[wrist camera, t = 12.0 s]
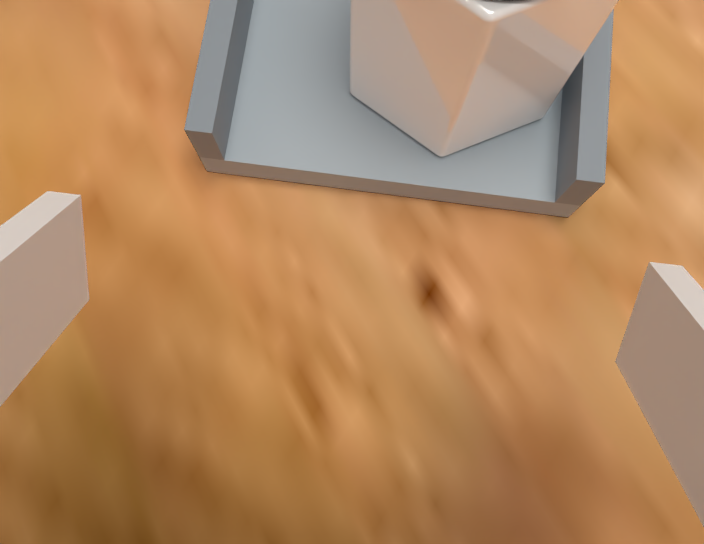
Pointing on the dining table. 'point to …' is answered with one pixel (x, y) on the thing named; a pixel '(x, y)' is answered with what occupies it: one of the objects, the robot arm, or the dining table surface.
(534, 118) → the jar
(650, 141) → the dining table surface
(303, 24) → the dock bay
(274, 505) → the dining table surface
